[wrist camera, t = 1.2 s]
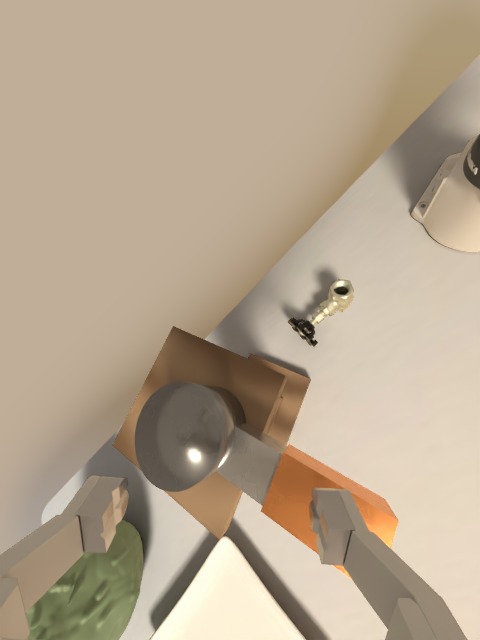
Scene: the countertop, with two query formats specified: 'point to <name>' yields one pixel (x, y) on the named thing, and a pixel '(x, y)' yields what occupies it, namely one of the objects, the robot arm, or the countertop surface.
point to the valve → (325, 309)
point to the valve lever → (240, 459)
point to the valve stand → (246, 385)
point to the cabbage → (93, 593)
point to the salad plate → (227, 604)
